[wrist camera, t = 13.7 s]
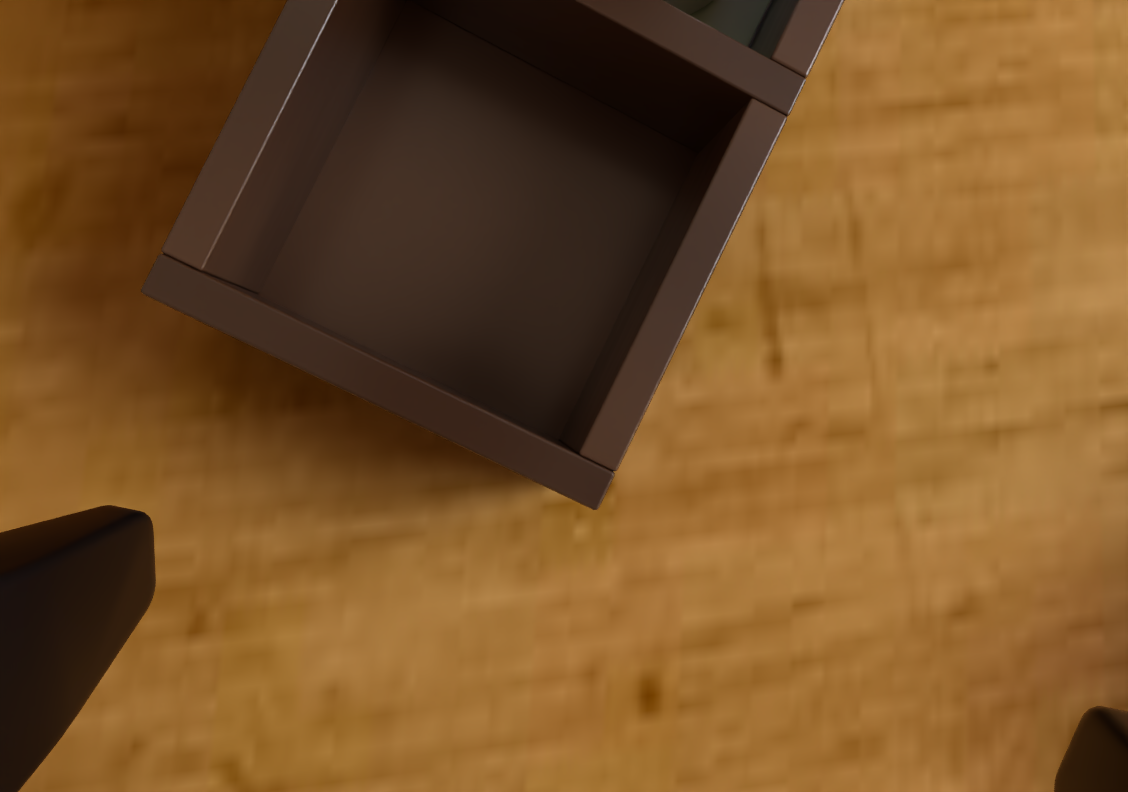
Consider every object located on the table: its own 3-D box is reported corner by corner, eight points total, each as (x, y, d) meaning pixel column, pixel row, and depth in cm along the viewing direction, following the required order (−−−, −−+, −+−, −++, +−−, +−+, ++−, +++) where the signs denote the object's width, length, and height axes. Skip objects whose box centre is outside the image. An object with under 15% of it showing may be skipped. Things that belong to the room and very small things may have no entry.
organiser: (571, 483, 20) (598, 512, 16) (216, 312, 19) (137, 292, 15) (882, -158, 21) (992, -305, 16) (549, -351, 20) (570, -563, 15)
